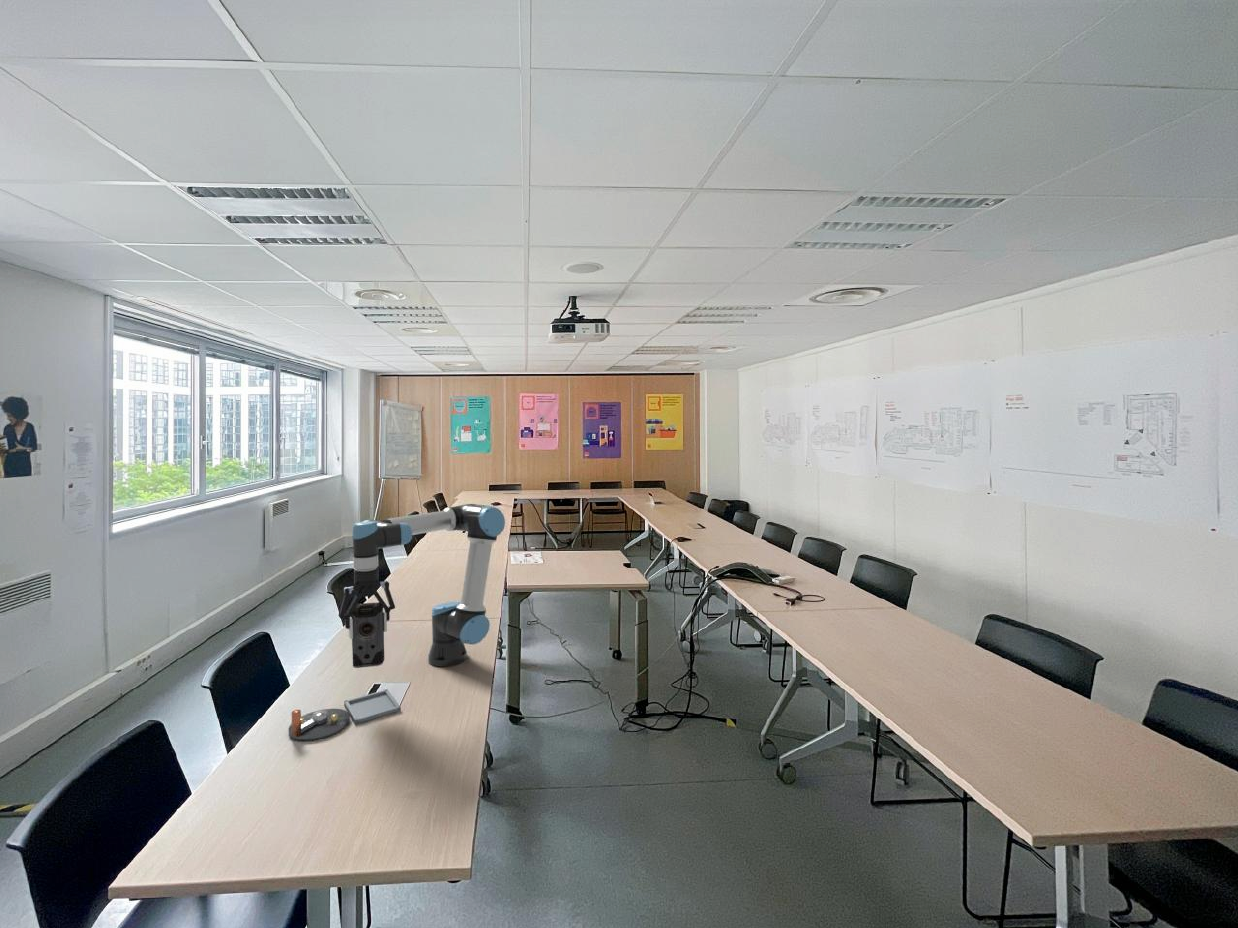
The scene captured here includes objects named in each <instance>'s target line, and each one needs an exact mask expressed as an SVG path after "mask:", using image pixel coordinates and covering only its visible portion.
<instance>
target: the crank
mask: <svg viewBox="0 0 1238 928" xmlns="http://www.w3.org/2000/svg"><path fill="white" fill-rule="evenodd" d="M320 710H321V711H319V710H316V711H317V712H315V711H314V712H315V713H313V714H312V719H311V720H309V721H307V722H305V723H303V724H301V717H302V711H301V709H295V710H292V711H291V724H292V736H299V735H300V734H301V732H303V731H305V730H306V729H308V728H310V727H312V726H313V725H320V724H323V723H325V722H327V720H328V712H327V711H325V710H324V709H320Z"/></svg>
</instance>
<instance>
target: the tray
mask: <svg viewBox="0 0 1238 928" xmlns="http://www.w3.org/2000/svg"><path fill="white" fill-rule="evenodd" d="M343 702H344V703H343V704H344V707H345V710H346V711H347V712H348V713H349V714H350V719H351V720H352V722H353V724H354V725H355V726H357V725H361V724H365V723H367V722H371V721H374V720H375V721H376V720H377V719H382V718H384V717H387V716H391V715H394V714H397V713H401V712H402V707H401V705H400V704H399V703H398V702H397V700H396V699H395V697H394V696H393V695H392V693H391V692H390V691H389V690H388V689H387V688H386V689H383V690H379V691H376V692H372V693H369V694H365V695H362V696H357V697H354V698H350V699H346V700H344V701H343Z"/></svg>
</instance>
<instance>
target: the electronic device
mask: <svg viewBox="0 0 1238 928" xmlns="http://www.w3.org/2000/svg"><path fill="white" fill-rule="evenodd" d="M383 611H384V608H383V605H382V604H381V603H379V601H378V602H377V601H376V602H367V603H364V602H363V603H358V604H357V606H356V608H355V609H354V611H353V613H352V615H351V618H352V620H353V639H351V645H352V650H351V651H352V667H353V668H355V669H359V668H369V667H379V666H381V665H383V663H384V661H385V632H384V622H383Z"/></svg>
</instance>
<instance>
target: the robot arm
mask: <svg viewBox="0 0 1238 928" xmlns="http://www.w3.org/2000/svg"><path fill="white" fill-rule="evenodd" d="M505 526H506V519H505V515H504V513H503V512H502V510H500V509H499V508H498V507H495V506H493V505H483V504H475V503H467V504H466V503H465V504H461V505H456V506H451V507H445V508H444V509H443V510H439V511H432V512H427V513H420V514H419V513H418V514H412V515H407V516H406V515H404V516H399V517H392V518H391V517H390V518H385V519H377V520H375V519H366V520H363V521H360V522H359V521H358V522H356V523H354V524H353V526H352V536H351V537H352V548H353V550H352V551H353V556H352V557H353V569H354V570H353V585H352V586H344V587H343V597H342V601H341V604H340V608H339V611H338V618H339V619H341V620H343V619H344V627H345V630H348V637H349V639H350V640H352V639H353V620H352V618H351V615H352V613H353V611H354V609H355V608H356V606H357V604H359V602H360V600H361V599H362V598H367V597H373V596H374V597H375V598H376V600H377V601H378V602H379V603H381V604H382V605H383V622H384V633H386V632H388V623H387V622H388V621H390V614H391V611H392V610H394V609H396V606H395V603H394V599H393V596H392V594H391V590H390V582H389V581H388V580H384V581H380V576H379V575H380V574H379V573H380V572H379V570H380V569H379V568H378V567H379V550H380V549H383V548H390V547H391V548H392V547H398V546H402V545H406V544H409V543H410V542H411V541H412V538H413V536H415V535H420V534H425V533H432V532H438V531H443V530H446V531H447V532H453V531H462V532H466V533H467V540H468V541H469V542H470V543H469V549H468V555H467V562H466V568H465V575H464V580H463V588H462V593H461V600H460V601H448V602H442V603H439V604H436V605H434V606H433V608H432V610H431V627H432V628H431V630H432V633H431V634H432V643H431V646H430V649H429V653H428V655H427V656H428V659H427V661H428V663H429V664H430V665H431V666H434V667H450V666H455V665H459V664H461V663H462V662H464V661H465V660H466V659H467V657H468V654H467V653H468V652H467V648H466V646H465V644H466V645H476V644H479V643H481V642H482V641H483V640H484V639H485V638H486V637H487V635H488V633H489V631H490V623H491V622H490V619H489V618H488V617H487V616H486V614H487V613H486V612H487V607H485V605H484V601H485V599H484V598H485V593H486V587H487V580H488V572H489V567H490V566H489V565H490V561H491V560H490V559H491V554H492V553H491V552H492V546H493V544H494V543H495V542H497V539H498V536H500V535H501V534H502V532H503V531H504V529H505ZM379 588H382V589H383V591H384V594H385V597H386V599H387V603H388V605H387V604H386V602H385V601H384V599H383V598H382V596H381V595H380V594H379V592H378V589H379ZM352 591H354V592H355V594H354V597H353V599H352V601H351V603H350V604H349V607H348V603H349V599H350V594H352ZM347 607H348V608H347ZM346 609H347V610H346Z"/></svg>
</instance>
